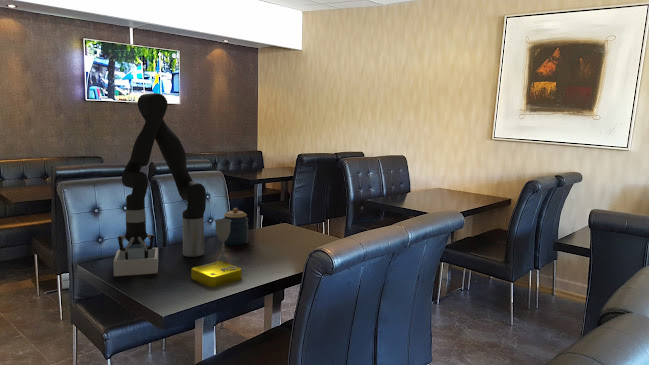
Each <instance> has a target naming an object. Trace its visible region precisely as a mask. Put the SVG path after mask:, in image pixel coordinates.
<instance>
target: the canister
mask: <svg viewBox="0 0 649 365" xmlns="http://www.w3.org/2000/svg"><path fill="white" fill-rule="evenodd" d="M223 216H224V217H223V218H222V219H230V220H231V222H230V233H229V236H228V238H227V240H226V241H224V245H225V246H226V245H228V246H242V245H245V244H248V243H249V224H248V221H249V218H248V217H247V216H248V214H247V213H245V212H244V211H242V210H239V208H238V207H234V208H233V209H232V210H230V211H226V212H225V213H224V214H223Z"/></svg>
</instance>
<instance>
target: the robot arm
mask: <svg viewBox="0 0 649 365" xmlns="http://www.w3.org/2000/svg"><path fill="white" fill-rule="evenodd" d="M137 108H138V111H139V113H140V115H141V116H142V117H143V119H144V124H143V127H142V128H141V131H140V132H139V134H138V135H137V137H136V139H135V141H134V143H133V147H132V151H131V154H130V158H129V160H128V162H127V164H126V166H125V167H124V169H123V172H122V175H121V183H122V185H123V186H124V187H126V188H130V189H132V190H131V194H128V195H126V198H125V234H123V235H121V234H119V235H118V237H117V242H118V245H119V246H118V247H119V250H120V251H124V252H125V259H126V260H128V247H130V246H131V244H132V245H135V244H138V245H139V244H141V245H142V247H144V250H145V251H144V256H145V259H146V258H148V250H150V249H152V248H154V247H153V246H154V240H155V234H154V233H151V234H149V233H147V217H146V216H147V214H146V204H145V203H146V202H145V198H146V195H147V191H148V186H149V178H148V176H147V174H146V173H145V172H143V171H141V169H143V168H144V167H147V166H148V165H149V162H150V159H151V155H152V150H153V147H154V143H156V144H157V146H158V148H159V151H160V153H161V156H162V157H163V159H164V161H165V164H166V165H167V168H168V169H169V171H170V173H171V175H172V178H173V181H174V182H175V183H174V184H175V186H176V189H177V192H178V196H180V198H181V199H182V201H183V200H184V201H185V202H186V203H187V204H186V209H185V210H183V211H182V256H184V257H189V258H190V257H191V258H193V257H194V258H196V257H201V256H204V255H205V230H204V228H205V226H204V225H205V224H204V221H205V219H204V216H205V215H204V214H205V212H206V206H207V205H206V204H207V192H206V188H205V187H206V186H204V185H203V184H202V183H200V182H196V181H194V180H193V179H192V177H191V175H190V173H189V171H188V166H187V154H186V151H185V149H184V146H183V144H182V142H181V140H180V138H179V137H178V136H177V135H176V133H175V132H174V131H173V130H172V129H171V128H170V126H168V124H167V123H166V121H165V119H164V117H165V115H166V112H167V109H168V100H167V98H166V97H165V95H164V94H162V93H157V92H155V93H153V92H151V93H143V94H141V95H140V96H139V97H138V98H137ZM155 141H156V142H155ZM147 238H148V240H149V245H147V243H146V241H145V240H146V239H147ZM124 240H127V242H128V243H127V245H126V247H125V246H124V242H123V241H124Z"/></svg>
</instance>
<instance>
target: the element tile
mask: <svg viewBox="0 0 649 365" xmlns="http://www.w3.org/2000/svg"><path fill="white" fill-rule="evenodd" d="M242 274H243V271H242V268H241V267H239V266H236V265H234V264H231V263H228V262H223V261H213V262H211V263H207V264H203V265H199V266H195V267H191V275H190V276H191V277H190V278H191V280H194V281H196V282H198V283H200V284H202V285H204V286H206V287H208V288H216V287H217V288H218V287H220V286H223V285H226V284H229V283H233V282H237V281H240V280H242V276H243V275H242Z"/></svg>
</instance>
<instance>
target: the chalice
mask: <svg viewBox="0 0 649 365" xmlns="http://www.w3.org/2000/svg"><path fill="white" fill-rule="evenodd" d="M214 222H215V233H216V237H217V238H218V240H219V241H220V242H221V249H220V250H221V254H220V255H219V256H218V257H217V260H216V262H218V261H223V262H226V263H228V262H229V257H228V255H227V254H225V250H226V249H225V246H226V244H224V241H226V240H227V238H228V236H229V233H230V222H231V220H230V219H223V218H219V219H214Z"/></svg>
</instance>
